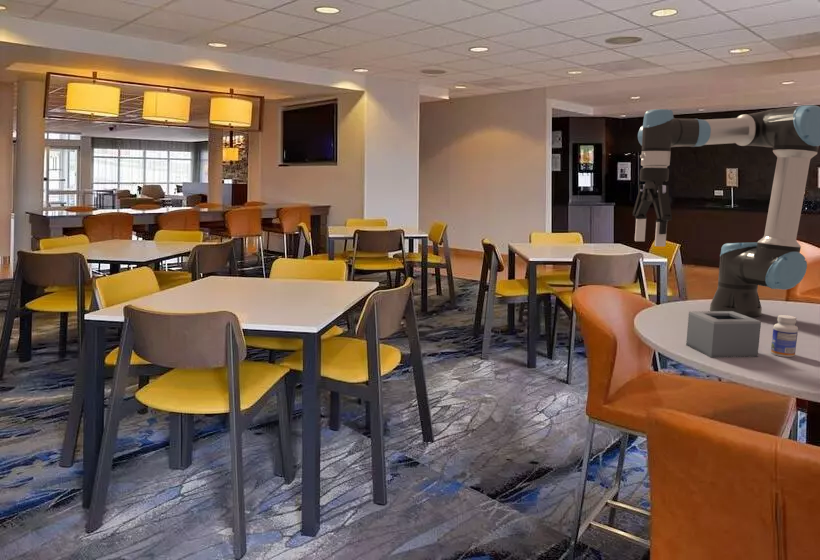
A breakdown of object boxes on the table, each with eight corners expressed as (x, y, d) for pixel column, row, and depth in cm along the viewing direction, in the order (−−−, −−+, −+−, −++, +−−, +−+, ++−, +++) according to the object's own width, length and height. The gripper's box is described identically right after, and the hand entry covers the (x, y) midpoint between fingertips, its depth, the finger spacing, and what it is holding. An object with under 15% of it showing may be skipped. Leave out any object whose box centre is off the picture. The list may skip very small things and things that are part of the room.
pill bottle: (771, 350, 169) (775, 313, 167) (796, 354, 166) (800, 316, 164) (769, 355, 164) (773, 316, 163) (794, 358, 161) (798, 319, 160)
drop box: (729, 344, 174) (732, 311, 173) (757, 357, 162) (761, 321, 161) (686, 345, 173) (688, 311, 171) (711, 357, 161) (714, 321, 160)
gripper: (624, 167, 195) (619, 239, 198) (661, 166, 170) (655, 248, 173) (648, 167, 195) (644, 239, 199) (689, 166, 171) (683, 248, 174)
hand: (649, 243), depth 186 cm, fingers open, 13 cm apart
